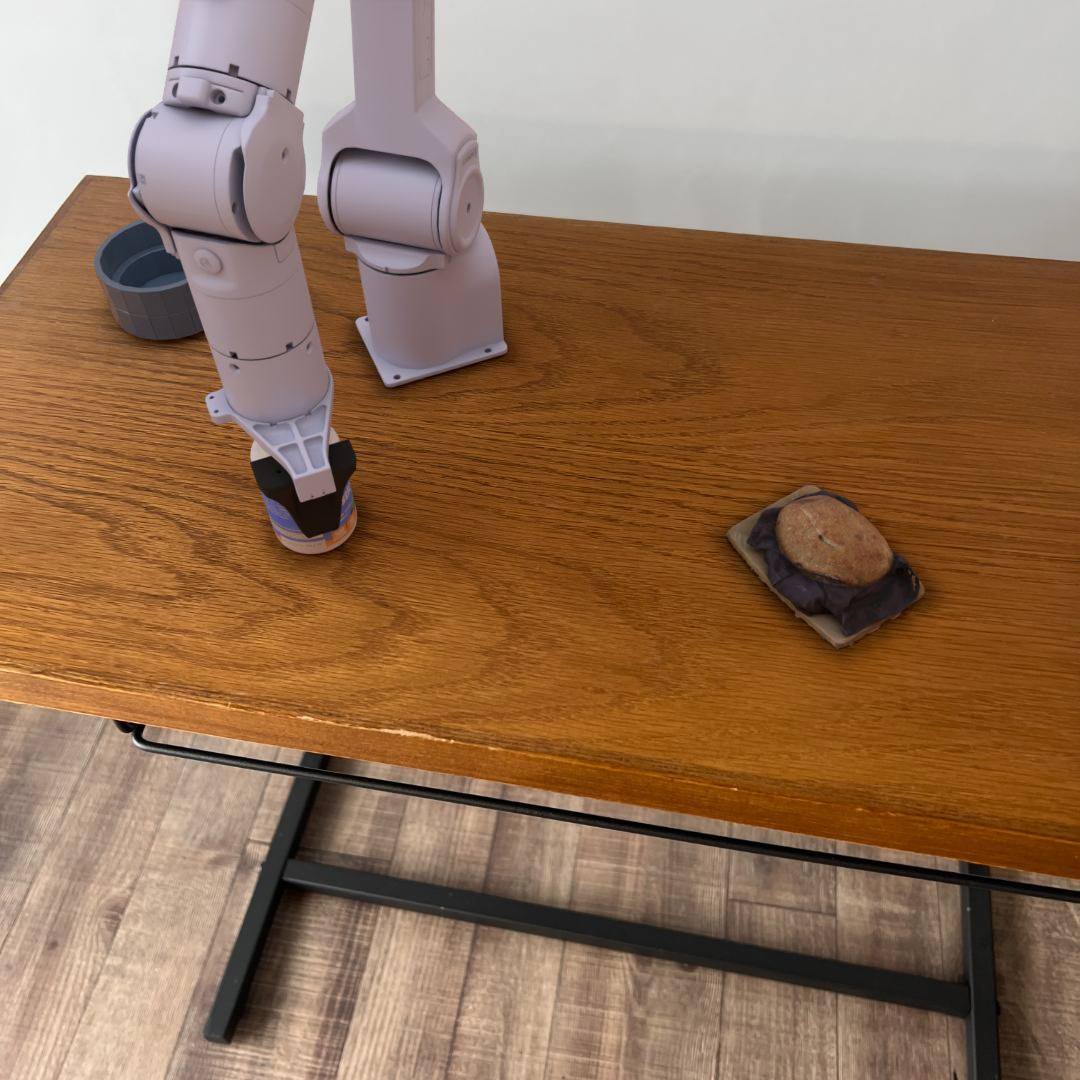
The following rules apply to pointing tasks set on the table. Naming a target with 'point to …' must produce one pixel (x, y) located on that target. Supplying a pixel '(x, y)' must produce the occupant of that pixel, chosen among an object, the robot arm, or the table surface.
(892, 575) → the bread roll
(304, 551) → the pill bottle
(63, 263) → the table surface
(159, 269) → the bowl
